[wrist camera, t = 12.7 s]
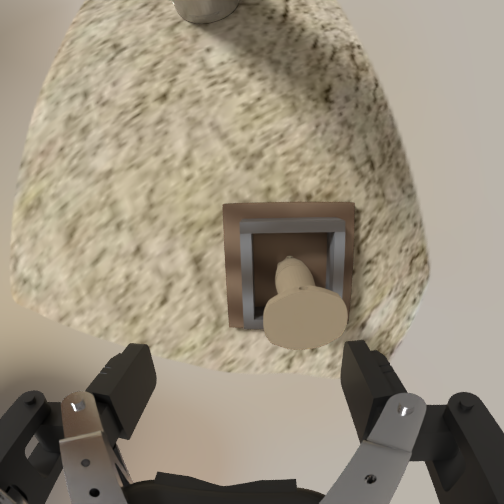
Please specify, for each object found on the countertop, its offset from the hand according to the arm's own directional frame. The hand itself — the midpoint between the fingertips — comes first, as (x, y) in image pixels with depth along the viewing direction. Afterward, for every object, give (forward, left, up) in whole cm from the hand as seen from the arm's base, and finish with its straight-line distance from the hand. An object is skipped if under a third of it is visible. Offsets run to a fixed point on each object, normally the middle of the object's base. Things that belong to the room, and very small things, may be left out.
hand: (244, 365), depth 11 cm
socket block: (+3, +4, -26) cm, 27 cm away
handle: (+3, +4, -25) cm, 26 cm away
